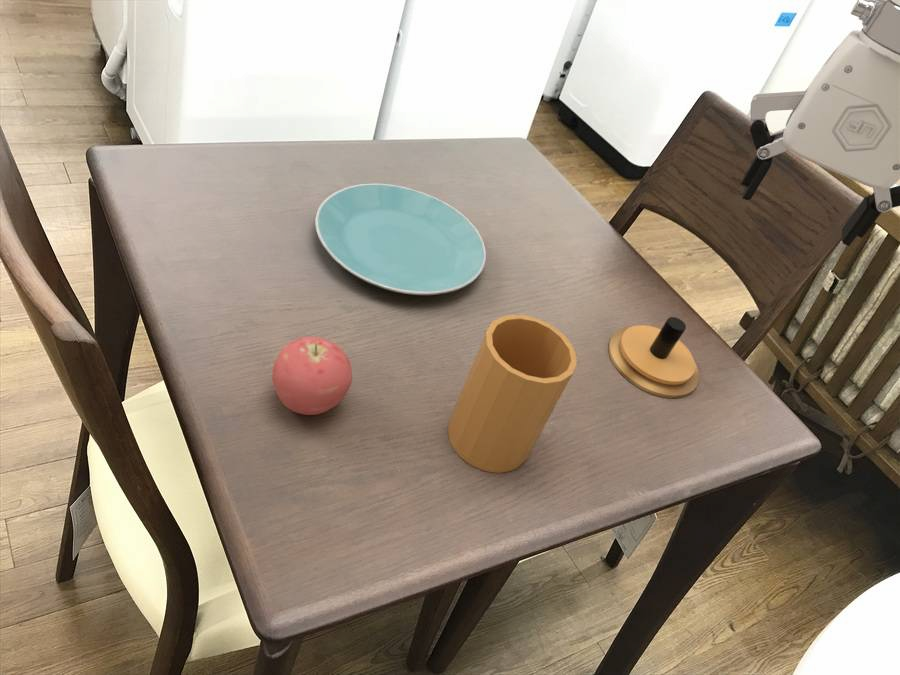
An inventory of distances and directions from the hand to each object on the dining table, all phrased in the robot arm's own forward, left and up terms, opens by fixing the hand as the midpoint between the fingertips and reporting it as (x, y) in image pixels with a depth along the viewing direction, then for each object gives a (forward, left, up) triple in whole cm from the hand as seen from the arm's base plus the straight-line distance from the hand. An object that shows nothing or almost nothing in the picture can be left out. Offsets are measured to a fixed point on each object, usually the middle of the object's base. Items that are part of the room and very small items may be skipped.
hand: (795, 216), depth 71 cm
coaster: (+5, -7, -29) cm, 30 cm away
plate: (+37, +8, -29) cm, 48 cm away
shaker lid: (+5, -7, -27) cm, 29 cm away
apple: (+23, +34, -29) cm, 50 cm away
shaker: (+9, +21, -29) cm, 37 cm away
